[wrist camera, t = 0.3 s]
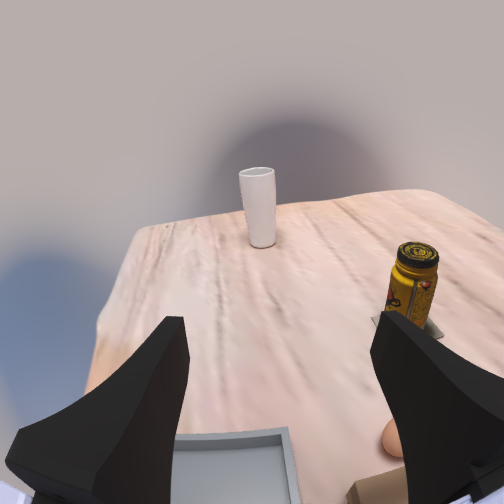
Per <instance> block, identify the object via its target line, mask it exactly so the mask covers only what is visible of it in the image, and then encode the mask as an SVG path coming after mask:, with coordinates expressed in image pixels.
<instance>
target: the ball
mask: <svg viewBox="0 0 504 504" xmlns="http://www.w3.org/2000/svg"><path fill="white" fill-rule="evenodd" d="M382 443H383V446H384V448H385V450H386V451H387V452H388V453H390V454H391V455H393V456H396V457H403V452H402V447H401V443H400V439H399V435H398V430H397V427H396V424H395V421H394V418H393V419H392V420H390V421H389V422H388V424H387V425H386V427H385V428H384V431H383V434H382Z"/></svg>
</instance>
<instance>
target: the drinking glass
mask: <svg viewBox="0 0 504 504" xmlns="http://www.w3.org/2000/svg"><path fill="white" fill-rule="evenodd" d="M239 183H240V192H241V197H242V203H243V207H244V212H245V217H246V222H247V227H248V232H249V239H250V243H251V245H252V246H254V247H257V248H266V247H269V246H272V245H273V244H274V243H275V241H276V232H275V230H276V183H275V174H274V170H273V169H271V168H265V167H261V168H250V169H246V170H243V171H241V172H240V173H239Z"/></svg>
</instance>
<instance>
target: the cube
mask: <svg viewBox="0 0 504 504" xmlns="http://www.w3.org/2000/svg"><path fill="white" fill-rule="evenodd" d="M346 496H347V501H348V504H408V486H407V478H406V470H405V466H403V467H401V468H398V469H395V470H392V471H389V472H386V473H383V474H379V475H376V476H373V477H369V478H366V479H362V480H359V481H355V482H354V484H353V485H352V487H351V488H350V490H349V491H348V493H347V494H346Z"/></svg>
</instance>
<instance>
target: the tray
mask: <svg viewBox="0 0 504 504" xmlns="http://www.w3.org/2000/svg"><path fill="white" fill-rule="evenodd" d="M170 504H301V503H300V497H299V491H298V484H297V478H296V472H295V466H294V460H293V454H292V448H291V442H290V435H289V429H288V427H281V428H273V429H264V430H255V431H244V432H230V433H211V434H176V436H175V442H174V451H173V462H172V477H171V503H170Z"/></svg>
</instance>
